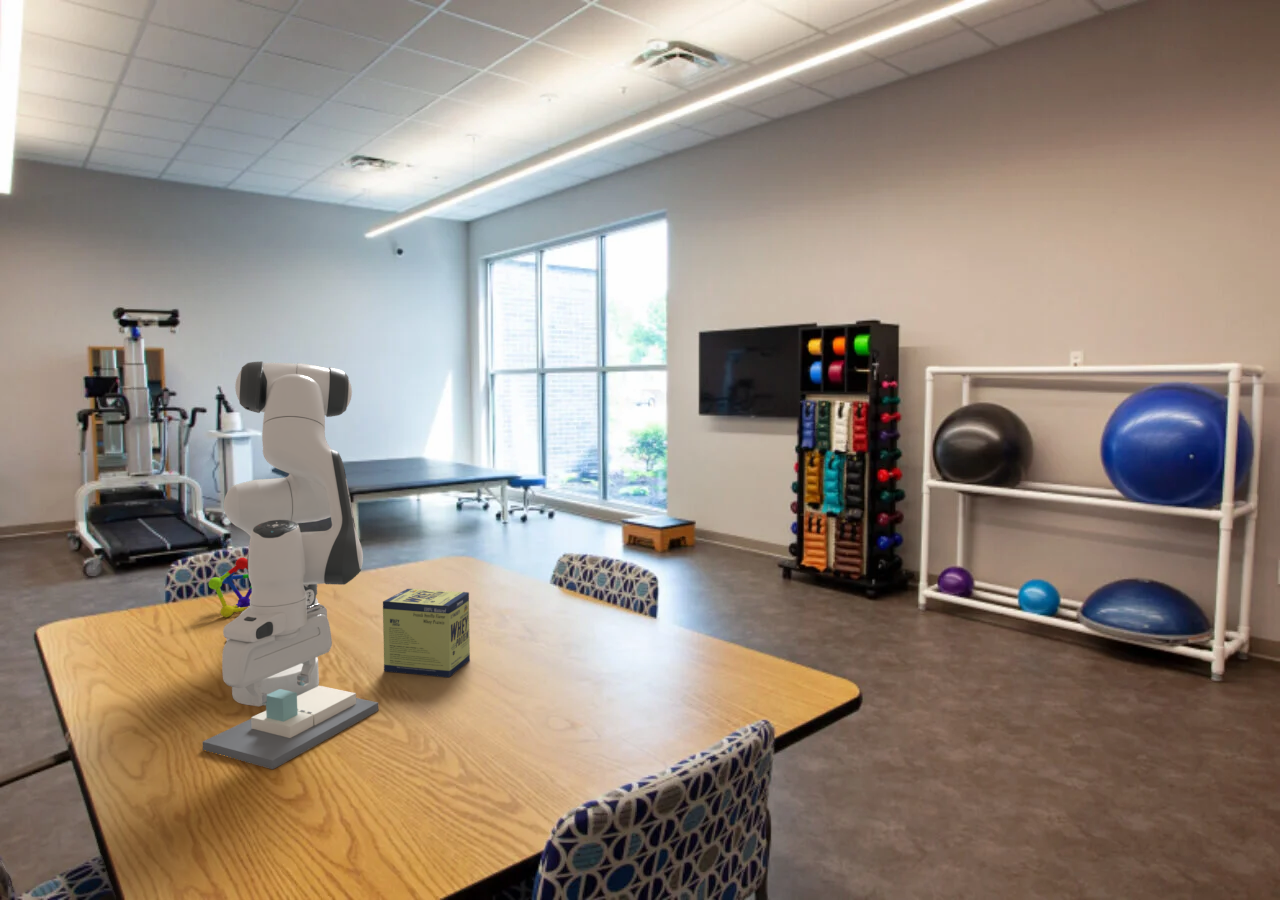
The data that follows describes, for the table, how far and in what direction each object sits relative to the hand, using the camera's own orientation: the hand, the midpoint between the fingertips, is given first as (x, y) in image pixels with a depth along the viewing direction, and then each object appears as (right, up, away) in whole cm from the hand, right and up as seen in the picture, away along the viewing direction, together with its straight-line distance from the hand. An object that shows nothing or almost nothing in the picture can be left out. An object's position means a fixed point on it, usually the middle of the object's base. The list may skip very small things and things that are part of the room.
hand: (282, 694), depth 134 cm
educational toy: (-45, -1, +73) cm, 85 cm away
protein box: (+16, -5, +34) cm, 38 cm away
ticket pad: (+3, -5, +8) cm, 10 cm away
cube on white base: (0, -6, +1) cm, 6 cm away
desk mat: (+1, -7, +4) cm, 8 cm away
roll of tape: (-11, -6, +21) cm, 25 cm away
